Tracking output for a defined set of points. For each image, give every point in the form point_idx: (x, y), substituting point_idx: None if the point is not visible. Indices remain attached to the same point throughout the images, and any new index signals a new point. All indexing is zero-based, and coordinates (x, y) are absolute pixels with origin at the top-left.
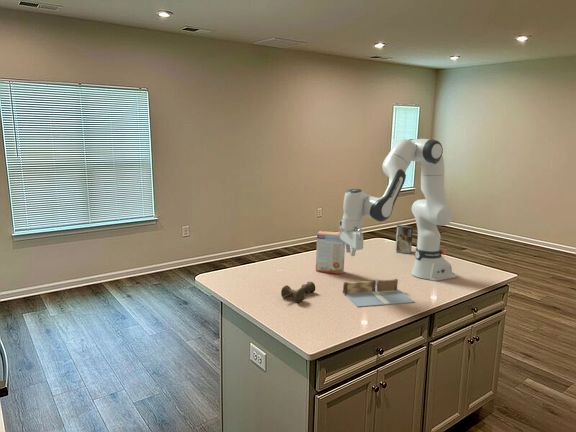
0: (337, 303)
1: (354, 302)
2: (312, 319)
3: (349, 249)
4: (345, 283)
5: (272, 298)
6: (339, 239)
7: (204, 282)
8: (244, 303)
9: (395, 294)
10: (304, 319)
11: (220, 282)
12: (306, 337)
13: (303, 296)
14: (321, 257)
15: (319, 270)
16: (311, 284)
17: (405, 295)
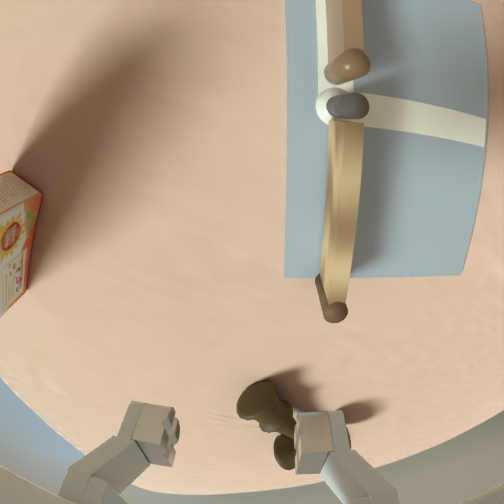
0: (399, 332)
1: (429, 273)
2: (445, 401)
3: (165, 446)
4: (345, 317)
5: None
6: None
7: (171, 492)
8: (298, 480)
9: (397, 15)
10: (434, 414)
11: (169, 483)
12: (487, 408)
13: None
14: None
15: (25, 282)
16: (268, 413)
17: None
